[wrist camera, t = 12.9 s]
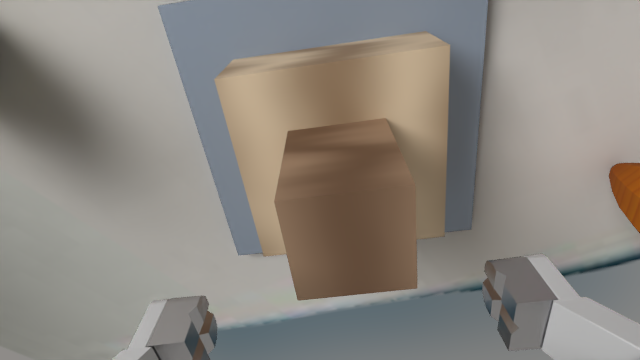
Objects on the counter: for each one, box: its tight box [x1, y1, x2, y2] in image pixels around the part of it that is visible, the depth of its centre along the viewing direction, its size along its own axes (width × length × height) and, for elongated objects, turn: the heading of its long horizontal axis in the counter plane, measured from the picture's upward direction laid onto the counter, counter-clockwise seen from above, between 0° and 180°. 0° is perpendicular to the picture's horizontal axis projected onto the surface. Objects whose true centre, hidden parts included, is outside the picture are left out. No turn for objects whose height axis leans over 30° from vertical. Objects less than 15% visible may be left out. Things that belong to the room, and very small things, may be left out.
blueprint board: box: [158, 0, 488, 255], centre depth 22 cm, size 16×16×1 cm
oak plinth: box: [214, 31, 450, 256], centre depth 20 cm, size 10×10×5 cm
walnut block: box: [274, 118, 417, 300], centre depth 15 cm, size 4×4×6 cm
